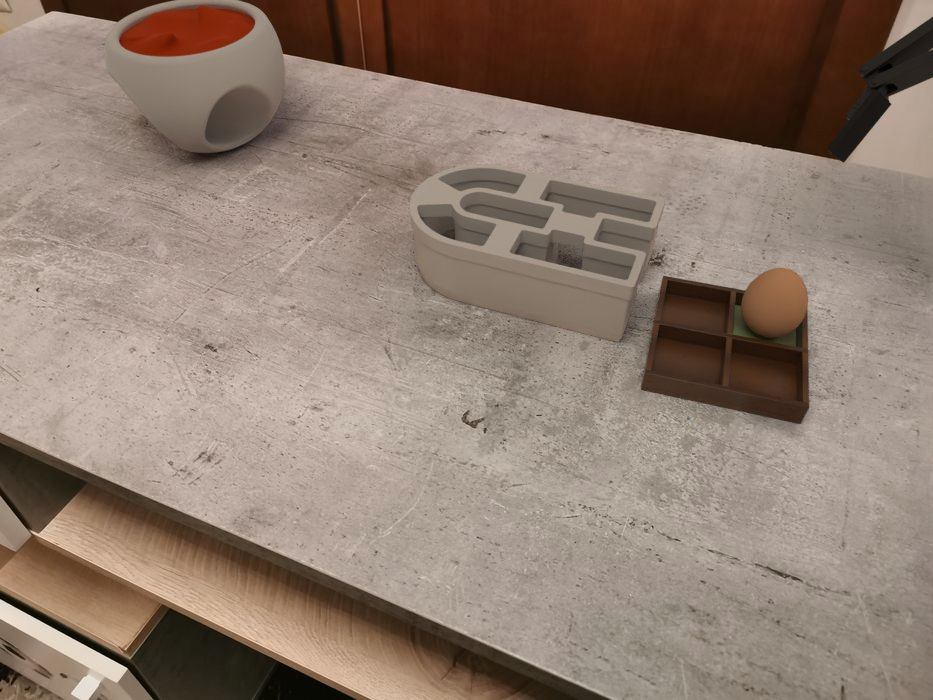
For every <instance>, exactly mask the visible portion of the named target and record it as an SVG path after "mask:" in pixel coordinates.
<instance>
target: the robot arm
mask: <svg viewBox="0 0 933 700" xmlns="http://www.w3.org/2000/svg"><path fill="white" fill-rule="evenodd" d="M858 74H859V75H860V76H861V78H862V79H863V80H864V81H865V83H866V87H865V90H864V91H863V92H862V94H861V95H860V96H859V97H858V99H856V101H855V103H853V104H852V106H851V107H850V109H849V110H848V111H847V113H846V116H845V119H847V122H845V124H844V126H843V127H842V128H841V129H840V130H839V132H838V133H837V134H836V136H835V137H834V138H833V140H832V141H831V142H830V143H829V144H828V146H827V147H826V148H825V151H828V152H829V153H830V154H831V155H832V156H833V157H834V158H836V159H837V160H838V161H840V162H842V163H843V164H844V163H846V161H847V160H848V158H849V157H850V156H851V155H852V153H854V151H855V150H856V149H857V148H858V146H859V145H860V144H861V143H862V141H864V138H866V136H867V135H868V134H869V133H870V132H871V130H872V129H873V128H874V127H875V125H876V124H877V123H878V122H879V120H880V119H881V118H882V117H883V116H884V114H885V113H886V112H887V111H888V110H889V108H890V107H891V106H892V103H891V101H890V99H889V98H890V97H891V96H894V95H897V94H898V93H901V92H903V91H906V90H908V89H910V88H912V87H914V86H916V85H919V84H921V83H923V82H926V81H928V80H931V79H933V16H932V17H930V18H928V19H927V20H926V21H924V22H923V23H921V24H919V26H917V27H915V28H914V29H913V30H911V31H910V32H907V34H905V35H904V36H903V37H901V38H900V39H898V40H897V41H895V42H894V43H892V44H891V45H889V46H888V47H886V48H885V49H883V50H882V51H881V52H879V53H878V54H877V55H874V56H873V57H872V58H870V59H869V60H868V61H866V62H865V63H863V64H862V65H861V66H860V67H859V69H858Z"/></svg>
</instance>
